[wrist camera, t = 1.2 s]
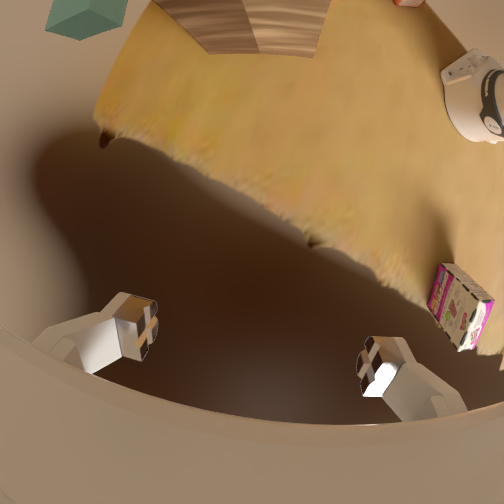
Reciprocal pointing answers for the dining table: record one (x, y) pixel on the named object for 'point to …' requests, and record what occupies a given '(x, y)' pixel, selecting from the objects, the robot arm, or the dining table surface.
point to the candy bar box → (459, 306)
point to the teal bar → (85, 17)
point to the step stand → (251, 24)
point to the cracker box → (409, 2)
